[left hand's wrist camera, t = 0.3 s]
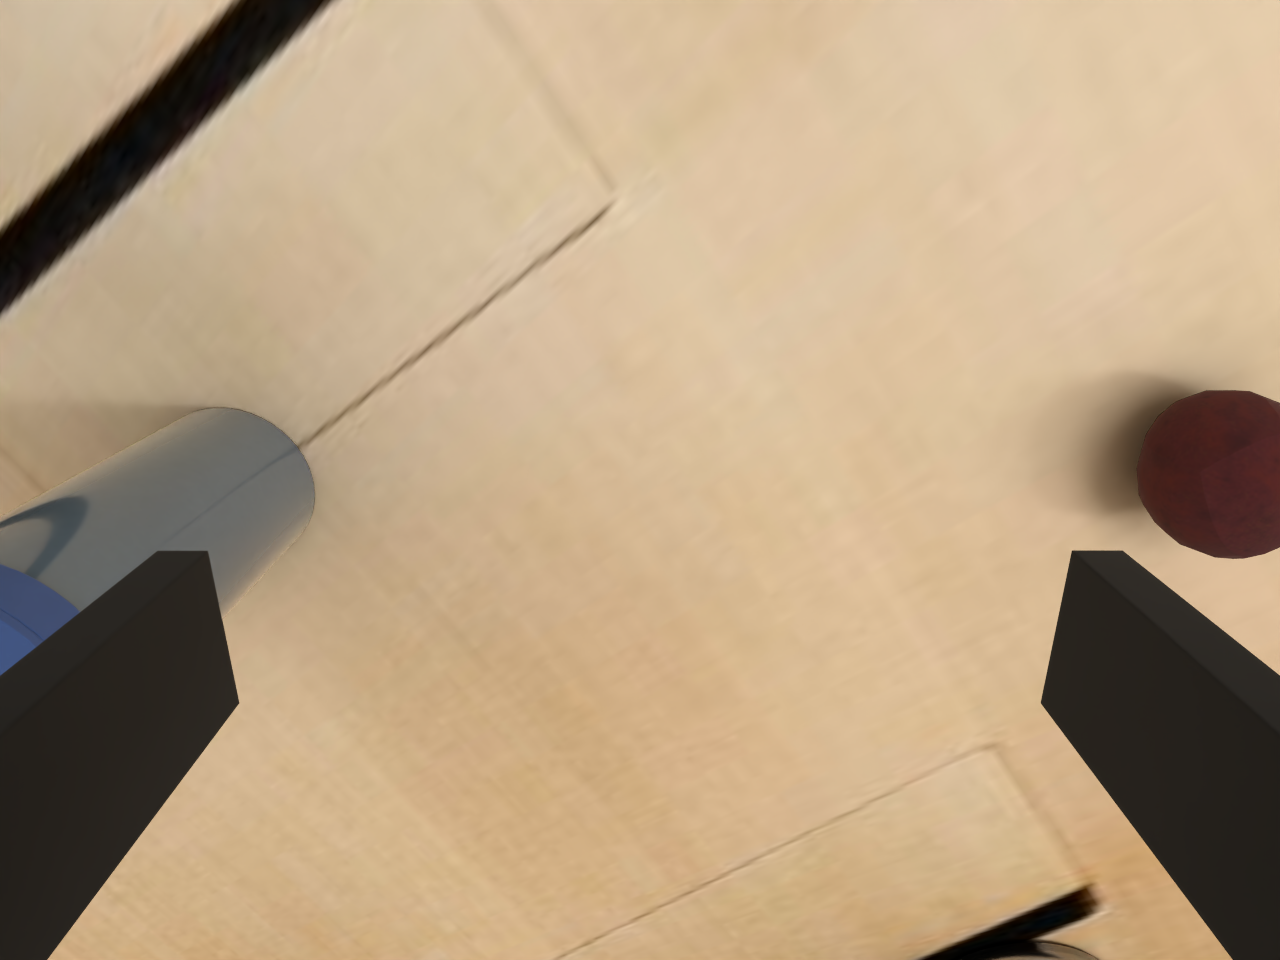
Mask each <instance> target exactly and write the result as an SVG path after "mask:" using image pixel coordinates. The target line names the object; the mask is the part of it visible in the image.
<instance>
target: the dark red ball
mask: <svg viewBox="0 0 1280 960" xmlns="http://www.w3.org/2000/svg"><path fill="white" fill-rule="evenodd" d="M1137 478H1138V491H1139V496H1140V498H1141V500H1142V503H1143V505H1144V506H1145V508H1146V509H1147V511H1148V512H1149V514H1150V516H1151V517H1152V519H1153V520H1154V522H1155V523H1156V524H1157V525H1158V526H1159V527H1161V528H1162V529H1163V530H1164V531H1165V532H1166V533H1167V534H1168V535H1169V536H1171V537H1172V538H1173V539H1174V540H1176V541H1177V542H1178V543H1179V544H1181V545H1184V546H1186V547H1189V548H1191V549H1194V550H1197V551H1199V552H1202V553H1205V554H1207V555H1210V556H1213V557H1218V558H1231V559H1238V558H1248V557H1253V556H1257V555H1262V554H1265V553H1268V552H1270V551H1272V550H1275V549H1277V548H1279V547H1280V403H1278V402H1276V401H1273V400H1271V399H1268V398H1266V397H1263V396H1261V395H1258V394H1256V393H1253V392H1250V391H1236V390H1224V391H1204V392H1201V393H1198V394H1195V395H1192V396H1189V397H1187V398H1184V399H1181V400H1179V401H1177V402H1175V403H1174V404H1172V405H1171V406H1170V407H1169V408H1168V409H1166V410H1165V411H1164V412H1163V413H1161V414H1160V415H1159V416H1158V417H1157V419H1156V420H1155V422H1154V423H1153V425H1152V426H1151V428H1150V429H1149V431H1148V432H1147V434H1146V437H1145V440H1144V444H1143V447H1142V451H1141V454H1140V458H1139V461H1138V466H1137Z"/></svg>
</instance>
